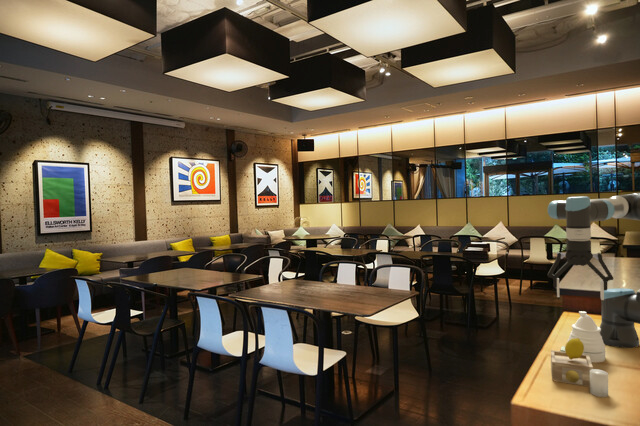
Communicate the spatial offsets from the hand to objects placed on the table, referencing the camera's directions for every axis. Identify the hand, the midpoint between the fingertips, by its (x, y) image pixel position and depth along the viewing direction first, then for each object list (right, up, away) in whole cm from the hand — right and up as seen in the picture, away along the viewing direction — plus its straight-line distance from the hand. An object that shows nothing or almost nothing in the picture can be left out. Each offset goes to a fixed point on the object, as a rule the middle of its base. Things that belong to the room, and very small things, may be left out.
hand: (579, 297), depth 154 cm
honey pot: (+12, -27, +15) cm, 33 cm away
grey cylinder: (-4, -28, -16) cm, 32 cm away
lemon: (-6, -21, -3) cm, 22 cm away
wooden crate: (-5, -28, -3) cm, 28 cm away
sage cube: (+2, -27, +10) cm, 29 cm away
